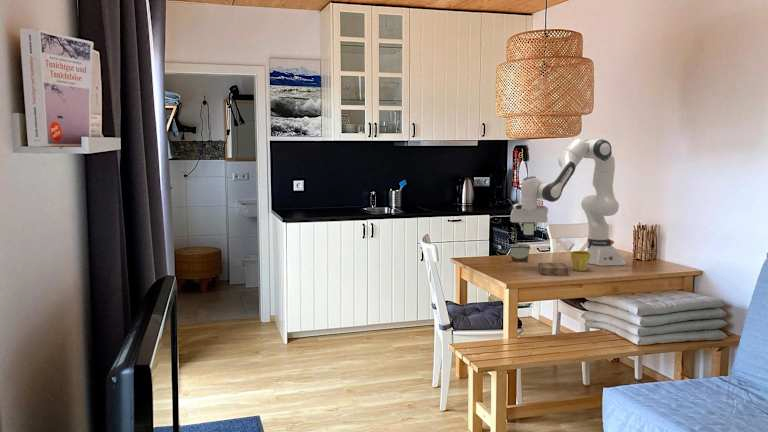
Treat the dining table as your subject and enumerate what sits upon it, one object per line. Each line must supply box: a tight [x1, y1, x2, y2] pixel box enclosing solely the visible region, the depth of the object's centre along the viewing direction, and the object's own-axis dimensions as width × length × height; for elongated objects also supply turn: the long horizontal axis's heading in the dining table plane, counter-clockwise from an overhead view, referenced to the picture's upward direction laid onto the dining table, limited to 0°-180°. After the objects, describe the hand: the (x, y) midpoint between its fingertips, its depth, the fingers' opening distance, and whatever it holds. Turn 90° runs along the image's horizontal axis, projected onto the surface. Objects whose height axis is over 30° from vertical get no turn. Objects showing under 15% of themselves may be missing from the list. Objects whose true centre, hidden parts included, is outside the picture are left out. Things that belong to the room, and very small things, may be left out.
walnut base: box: [537, 262, 569, 277], centre depth 350 cm, size 14×14×4 cm
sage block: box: [523, 222, 535, 236], centre depth 363 cm, size 5×5×6 cm
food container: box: [508, 243, 531, 263], centre depth 382 cm, size 12×6×10 cm, turn 84°
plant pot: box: [570, 250, 590, 272], centre depth 357 cm, size 10×10×10 cm
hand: (528, 230), depth 363 cm, fingers closed on sage block, 5 cm apart
